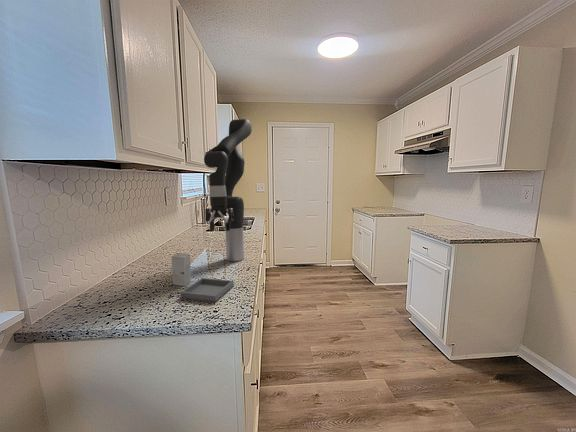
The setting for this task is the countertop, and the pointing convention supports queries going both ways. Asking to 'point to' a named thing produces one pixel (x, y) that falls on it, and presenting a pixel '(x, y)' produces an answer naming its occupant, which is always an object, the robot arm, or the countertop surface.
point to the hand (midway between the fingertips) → (220, 230)
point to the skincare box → (181, 269)
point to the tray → (207, 290)
